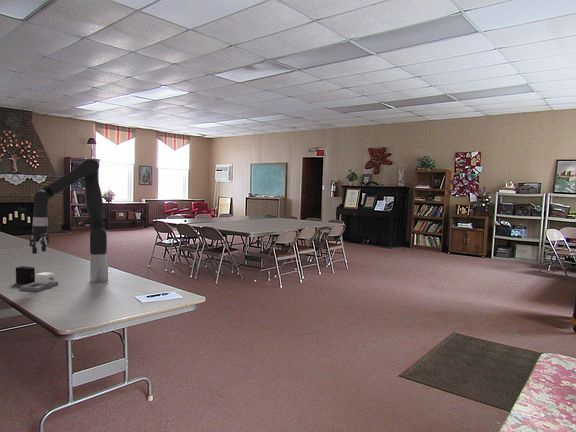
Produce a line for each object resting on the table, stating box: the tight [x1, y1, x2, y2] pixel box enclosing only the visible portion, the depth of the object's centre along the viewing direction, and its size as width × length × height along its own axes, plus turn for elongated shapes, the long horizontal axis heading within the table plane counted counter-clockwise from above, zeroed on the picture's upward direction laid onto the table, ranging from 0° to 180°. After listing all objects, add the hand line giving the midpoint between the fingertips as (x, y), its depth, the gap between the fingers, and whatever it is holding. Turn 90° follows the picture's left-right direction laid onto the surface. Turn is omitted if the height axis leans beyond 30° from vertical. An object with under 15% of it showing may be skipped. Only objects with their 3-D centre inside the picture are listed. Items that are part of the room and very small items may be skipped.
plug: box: [35, 271, 55, 284], centre depth 237 cm, size 9×6×7 cm, turn 81°
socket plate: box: [19, 280, 59, 293], centre depth 234 cm, size 11×16×2 cm
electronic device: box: [15, 265, 36, 285], centre depth 241 cm, size 4×10×10 cm, turn 71°
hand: (39, 252), depth 238 cm, fingers open, 8 cm apart
